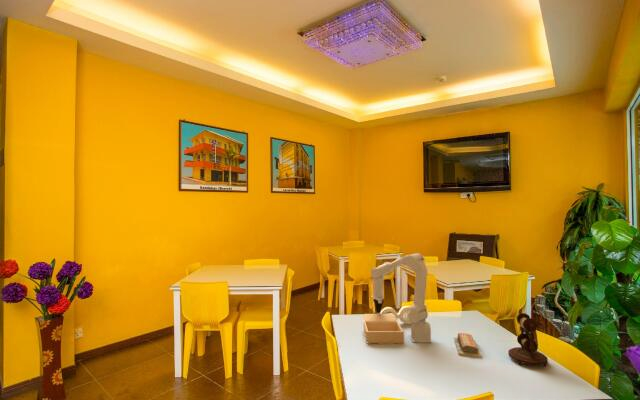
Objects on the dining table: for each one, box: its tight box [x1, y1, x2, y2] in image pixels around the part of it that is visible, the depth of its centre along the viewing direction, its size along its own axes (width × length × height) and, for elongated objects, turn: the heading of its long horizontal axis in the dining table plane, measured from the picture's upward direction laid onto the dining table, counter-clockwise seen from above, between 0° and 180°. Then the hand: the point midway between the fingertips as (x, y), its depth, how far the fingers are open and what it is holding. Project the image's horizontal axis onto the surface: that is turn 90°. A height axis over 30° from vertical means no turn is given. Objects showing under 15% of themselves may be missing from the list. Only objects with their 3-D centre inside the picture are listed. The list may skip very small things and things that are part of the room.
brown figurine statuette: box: [508, 312, 549, 367], centre depth 146 cm, size 15×15×20 cm
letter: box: [379, 305, 412, 325], centre depth 192 cm, size 22×2×10 cm, turn 99°
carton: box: [363, 321, 405, 345], centre depth 173 cm, size 19×14×6 cm
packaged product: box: [453, 332, 483, 359], centre depth 159 cm, size 18×5×10 cm
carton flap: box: [363, 313, 397, 322], centre depth 184 cm, size 17×7×1 cm, turn 88°
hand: (378, 312), depth 188 cm, fingers closed
